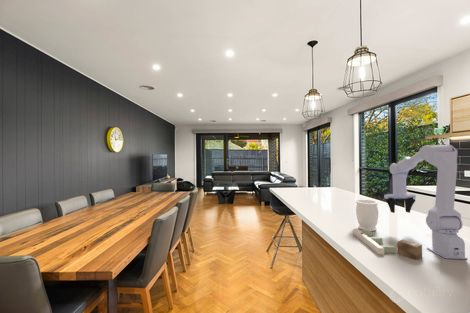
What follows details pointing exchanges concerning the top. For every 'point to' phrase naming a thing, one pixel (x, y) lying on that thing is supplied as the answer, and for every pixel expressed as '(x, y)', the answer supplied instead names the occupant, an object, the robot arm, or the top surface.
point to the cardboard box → (409, 249)
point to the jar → (367, 214)
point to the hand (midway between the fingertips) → (400, 212)
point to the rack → (374, 242)
